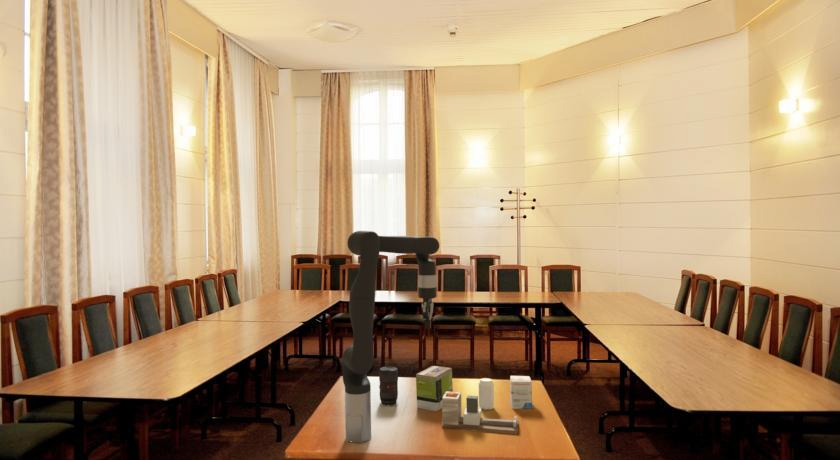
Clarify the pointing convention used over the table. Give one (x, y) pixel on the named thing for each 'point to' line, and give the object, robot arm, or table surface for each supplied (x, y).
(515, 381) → the ink box
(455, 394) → the cylinder
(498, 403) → the table surface
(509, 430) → the rail board
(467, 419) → the carriage
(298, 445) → the table surface
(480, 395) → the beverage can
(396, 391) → the camera lens
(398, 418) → the table surface
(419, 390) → the tea box
